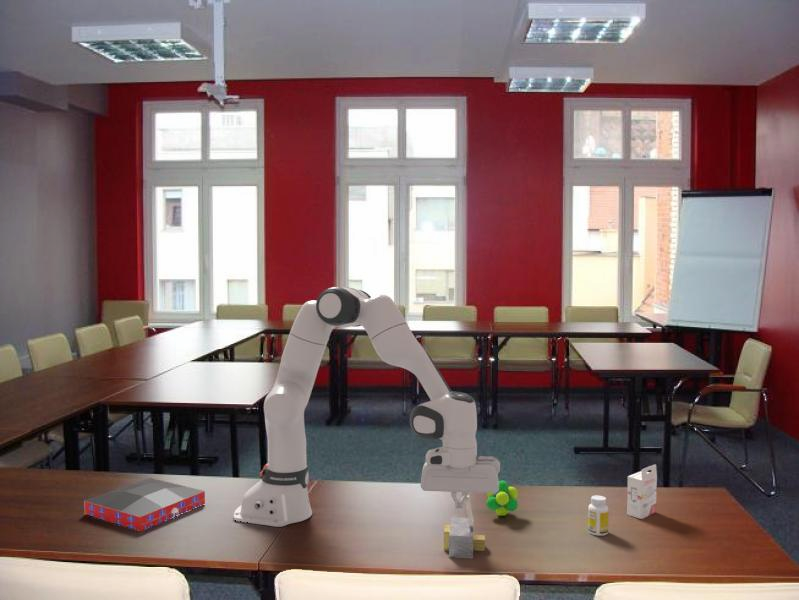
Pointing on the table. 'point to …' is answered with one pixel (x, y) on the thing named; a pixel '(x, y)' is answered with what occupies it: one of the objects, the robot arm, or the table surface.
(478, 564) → the table surface
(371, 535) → the table surface
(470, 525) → the bar
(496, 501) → the molecule model
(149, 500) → the building model
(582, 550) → the table surface
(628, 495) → the ink cartridge box
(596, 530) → the supplement bottle
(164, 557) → the table surface
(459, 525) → the block
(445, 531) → the lynch pin
